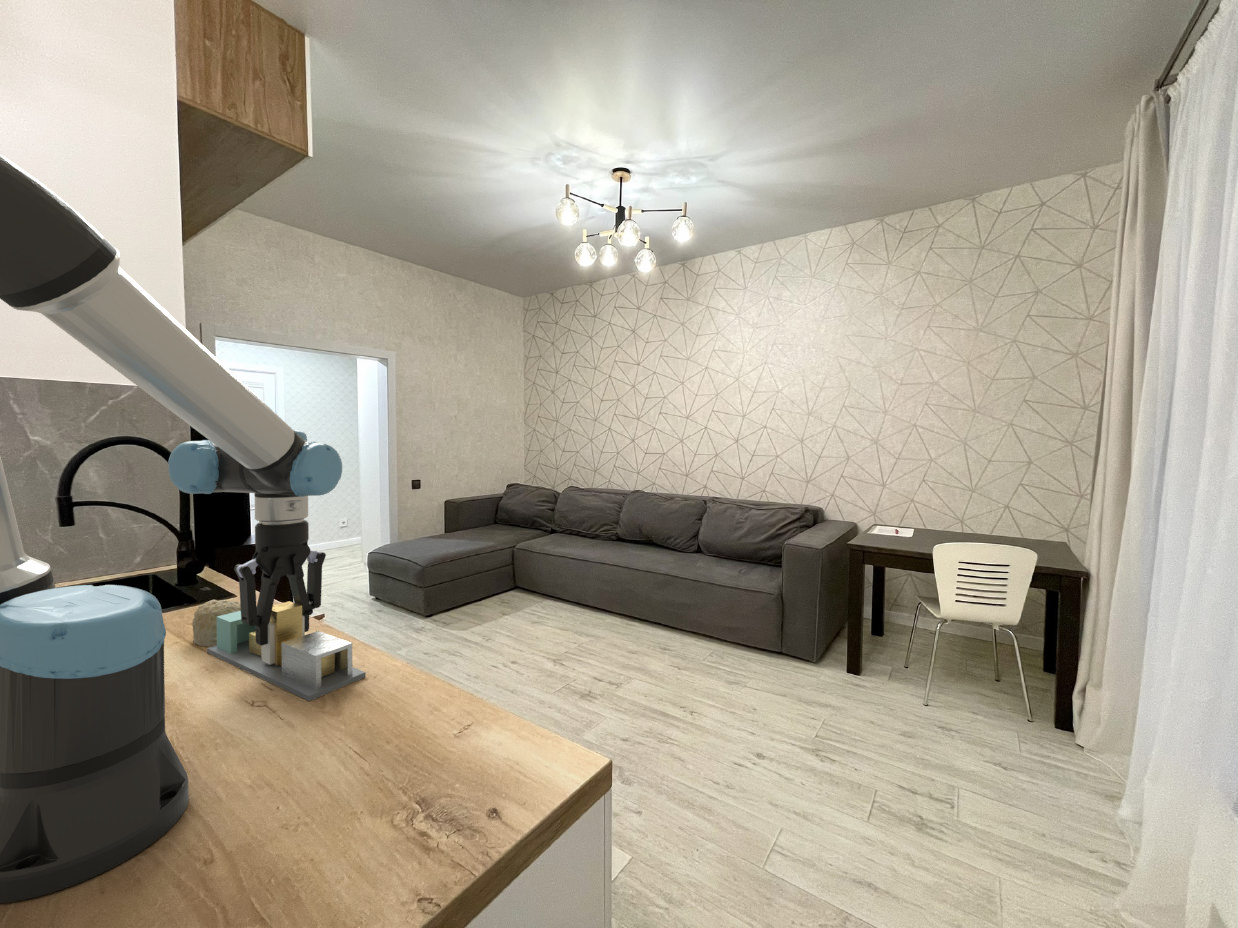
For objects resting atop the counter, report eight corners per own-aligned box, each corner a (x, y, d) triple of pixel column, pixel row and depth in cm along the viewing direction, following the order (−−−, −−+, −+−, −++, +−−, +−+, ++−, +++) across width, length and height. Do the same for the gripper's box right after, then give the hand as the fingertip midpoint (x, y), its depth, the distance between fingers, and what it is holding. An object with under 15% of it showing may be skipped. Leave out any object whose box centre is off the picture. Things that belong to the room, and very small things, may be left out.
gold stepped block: (312, 680, 78) (311, 624, 78) (246, 652, 88) (245, 601, 88) (337, 670, 82) (336, 616, 81) (271, 644, 91) (270, 595, 91)
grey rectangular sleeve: (316, 689, 76) (315, 656, 76) (281, 674, 81) (281, 642, 81) (352, 674, 81) (352, 642, 81) (318, 660, 86) (318, 630, 86)
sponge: (221, 649, 101) (185, 612, 98) (268, 617, 104) (234, 580, 101) (206, 668, 92) (165, 628, 90) (257, 633, 96) (219, 593, 93)
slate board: (309, 701, 74) (309, 695, 74) (207, 652, 90) (206, 648, 90) (365, 676, 82) (365, 672, 82) (262, 636, 98) (262, 632, 98)
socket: (230, 653, 88) (230, 622, 88) (216, 647, 90) (216, 616, 90) (273, 640, 94) (272, 611, 94) (259, 634, 96) (258, 606, 96)
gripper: (234, 530, 75) (236, 682, 76) (344, 516, 90) (345, 644, 91) (211, 525, 79) (213, 670, 80) (320, 513, 94) (321, 635, 95)
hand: (283, 656), depth 86 cm, fingers closed on gold stepped block, 4 cm apart
